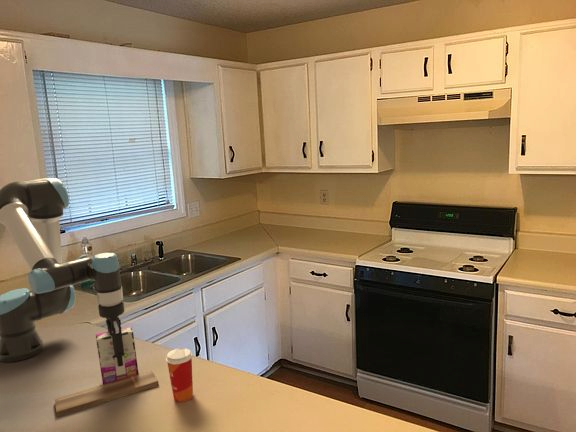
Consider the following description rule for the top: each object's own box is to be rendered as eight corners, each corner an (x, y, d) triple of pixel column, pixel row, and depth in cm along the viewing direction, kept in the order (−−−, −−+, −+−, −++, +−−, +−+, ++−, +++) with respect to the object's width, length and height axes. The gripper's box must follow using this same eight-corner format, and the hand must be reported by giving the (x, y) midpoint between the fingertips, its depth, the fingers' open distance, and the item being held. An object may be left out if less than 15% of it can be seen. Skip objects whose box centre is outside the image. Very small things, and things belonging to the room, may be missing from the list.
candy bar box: (137, 371, 157) (131, 325, 154) (139, 378, 153) (133, 331, 150) (101, 380, 153) (95, 333, 149) (102, 387, 148) (96, 339, 145)
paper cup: (174, 390, 145) (169, 347, 142) (198, 389, 144) (194, 346, 142) (166, 404, 137) (161, 360, 134) (193, 404, 137) (188, 359, 134)
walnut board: (55, 403, 141) (54, 398, 141) (152, 374, 155) (151, 370, 154) (57, 416, 134) (56, 411, 134) (158, 385, 148) (158, 380, 148)
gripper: (94, 296, 154) (103, 362, 158) (102, 314, 138) (112, 386, 142) (118, 291, 157) (126, 356, 162) (128, 308, 142) (137, 379, 146)
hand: (119, 370), depth 152 cm, fingers closed on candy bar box, 5 cm apart
